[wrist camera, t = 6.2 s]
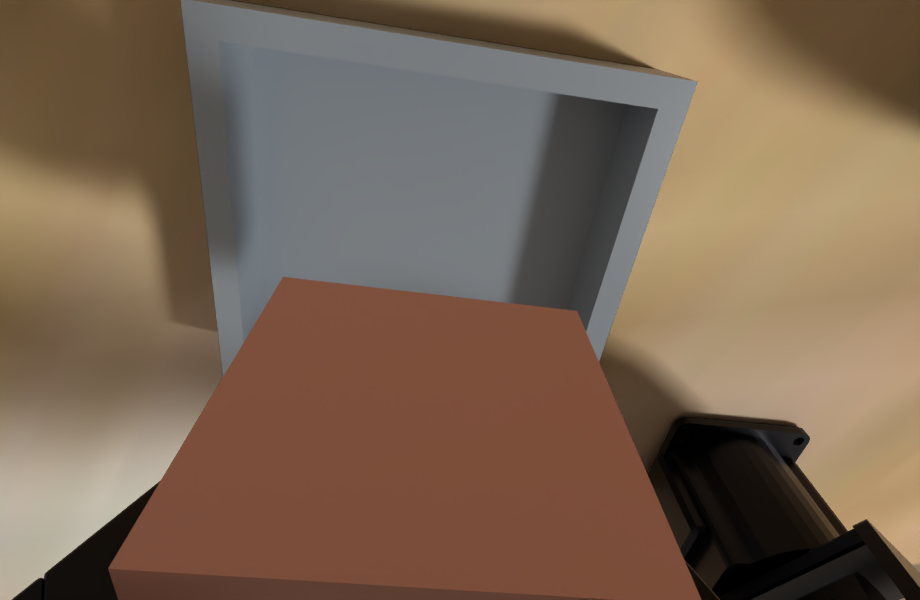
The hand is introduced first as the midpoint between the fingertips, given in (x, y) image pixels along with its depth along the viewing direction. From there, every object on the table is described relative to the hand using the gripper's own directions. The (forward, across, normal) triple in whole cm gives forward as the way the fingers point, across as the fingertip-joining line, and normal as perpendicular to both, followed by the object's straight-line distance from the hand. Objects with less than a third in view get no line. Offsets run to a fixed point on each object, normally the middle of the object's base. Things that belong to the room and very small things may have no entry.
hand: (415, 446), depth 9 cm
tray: (+11, 0, 0) cm, 11 cm away
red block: (+1, 0, 0) cm, 1 cm away
